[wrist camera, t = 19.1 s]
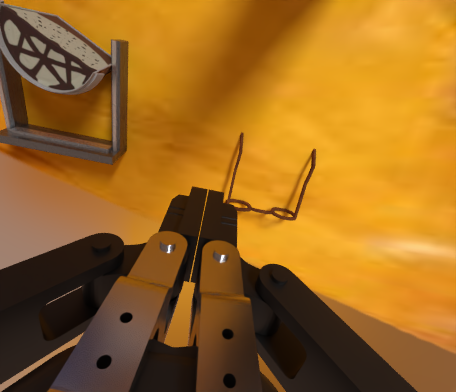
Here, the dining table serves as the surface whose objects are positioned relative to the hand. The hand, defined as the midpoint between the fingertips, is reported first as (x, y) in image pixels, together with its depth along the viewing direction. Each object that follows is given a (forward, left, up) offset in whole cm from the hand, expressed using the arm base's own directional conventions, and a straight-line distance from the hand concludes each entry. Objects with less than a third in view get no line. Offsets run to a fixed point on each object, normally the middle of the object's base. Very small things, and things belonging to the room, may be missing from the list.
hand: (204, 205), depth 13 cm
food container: (0, -22, -33) cm, 40 cm away
